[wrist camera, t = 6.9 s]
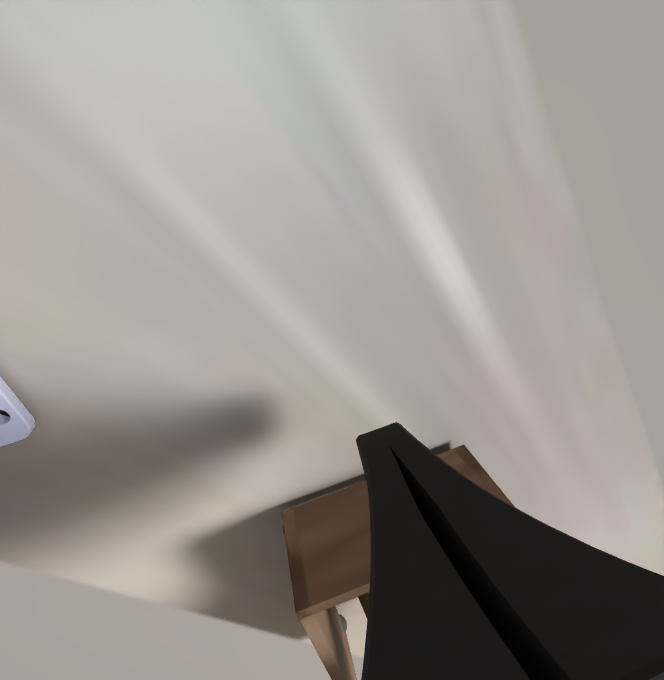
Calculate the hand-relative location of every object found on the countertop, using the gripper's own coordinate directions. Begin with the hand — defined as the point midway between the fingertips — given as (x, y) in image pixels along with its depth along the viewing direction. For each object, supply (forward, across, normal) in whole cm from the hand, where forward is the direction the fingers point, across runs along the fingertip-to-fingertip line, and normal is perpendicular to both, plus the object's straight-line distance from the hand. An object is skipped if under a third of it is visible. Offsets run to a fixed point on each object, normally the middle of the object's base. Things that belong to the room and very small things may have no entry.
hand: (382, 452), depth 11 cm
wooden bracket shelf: (+3, 0, +10) cm, 11 cm away
